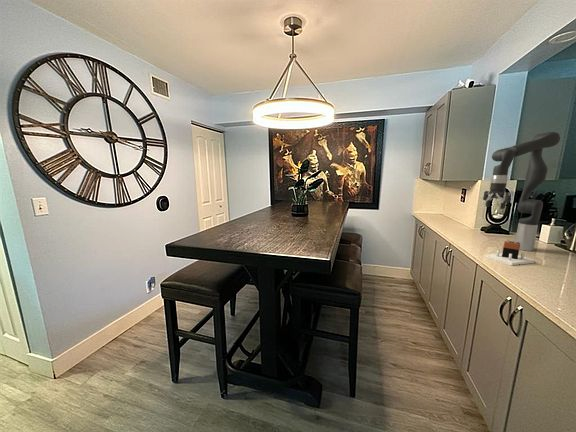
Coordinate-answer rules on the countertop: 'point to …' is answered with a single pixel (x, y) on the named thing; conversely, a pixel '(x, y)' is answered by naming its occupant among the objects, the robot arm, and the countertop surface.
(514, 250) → the battery
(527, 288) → the countertop surface
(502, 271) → the countertop surface
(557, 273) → the countertop surface
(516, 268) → the countertop surface
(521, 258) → the pin dock
